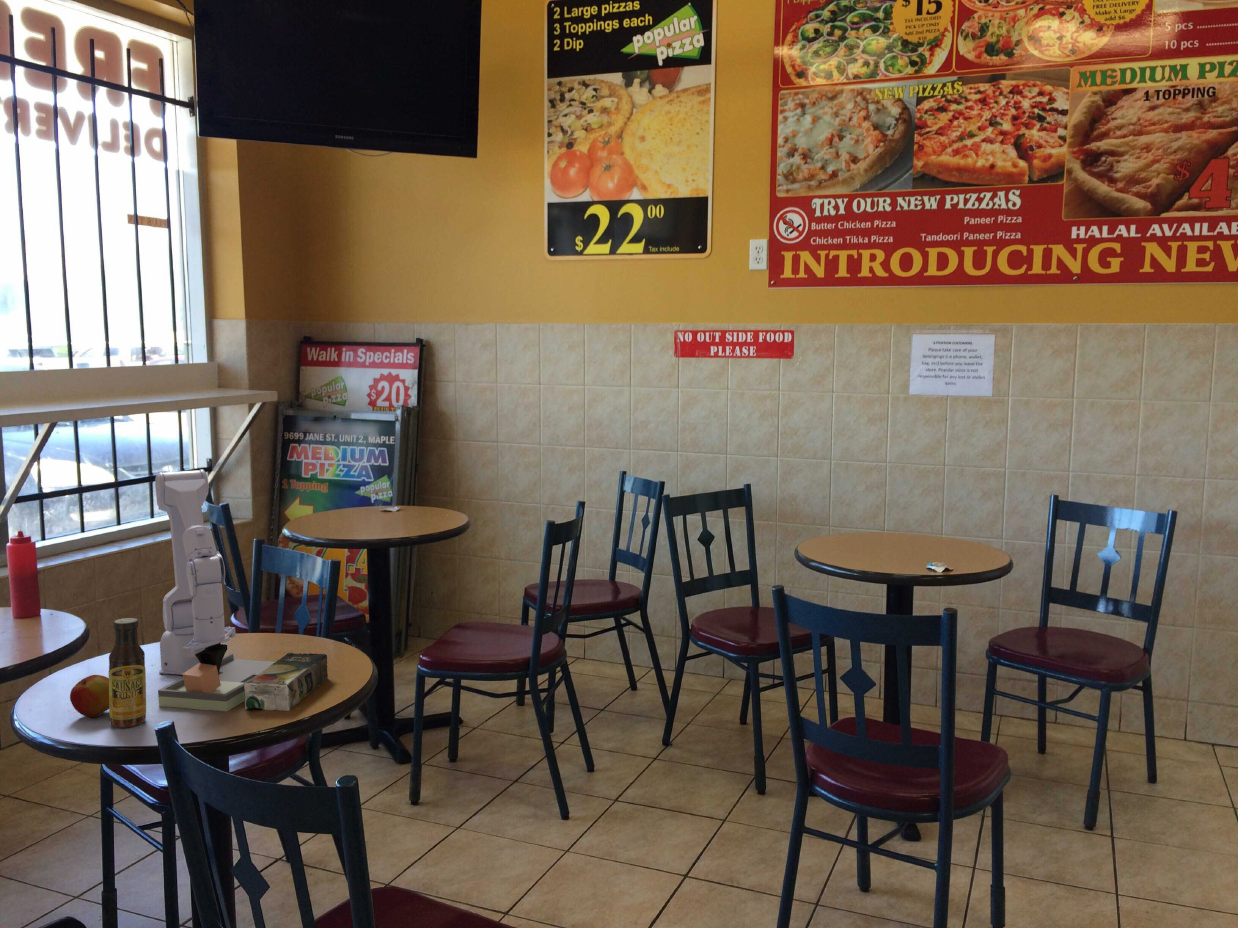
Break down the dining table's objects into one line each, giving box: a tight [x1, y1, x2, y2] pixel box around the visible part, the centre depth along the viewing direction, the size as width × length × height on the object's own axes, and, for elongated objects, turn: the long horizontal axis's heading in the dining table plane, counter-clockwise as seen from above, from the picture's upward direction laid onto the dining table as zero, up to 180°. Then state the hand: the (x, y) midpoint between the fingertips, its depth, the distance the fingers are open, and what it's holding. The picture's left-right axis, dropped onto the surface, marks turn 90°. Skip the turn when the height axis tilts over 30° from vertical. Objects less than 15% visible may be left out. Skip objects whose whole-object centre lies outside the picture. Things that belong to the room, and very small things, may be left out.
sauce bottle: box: [108, 617, 147, 729], centre depth 185 cm, size 7×6×20 cm
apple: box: [69, 674, 109, 718], centre depth 190 cm, size 8×8×8 cm
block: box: [181, 663, 221, 693], centre depth 197 cm, size 4×4×4 cm
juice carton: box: [244, 652, 329, 712], centre depth 202 cm, size 20×10×6 cm, turn 174°
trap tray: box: [157, 653, 276, 712], centre depth 205 cm, size 15×24×3 cm, turn 168°
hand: (212, 681), depth 200 cm, fingers closed, pressing on block
